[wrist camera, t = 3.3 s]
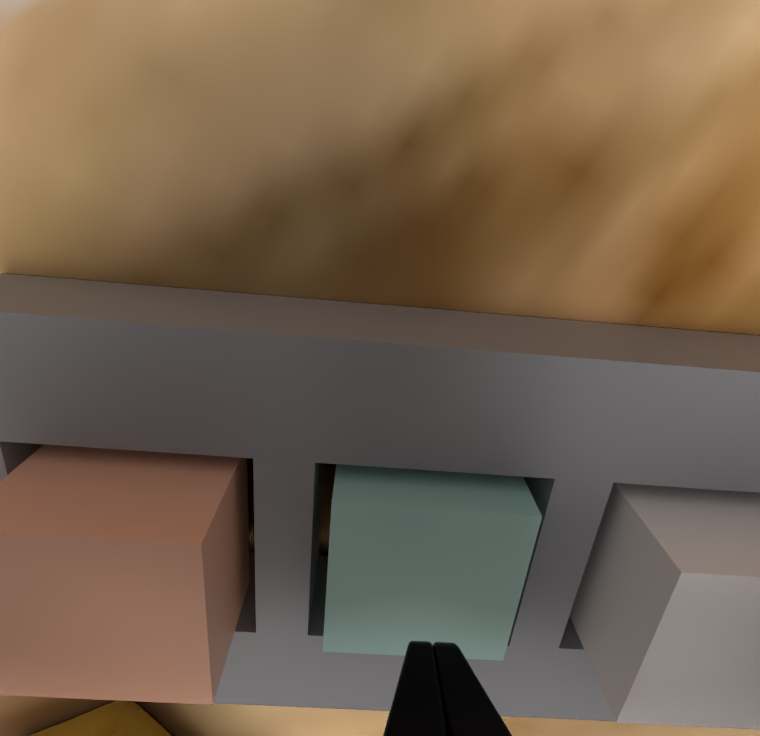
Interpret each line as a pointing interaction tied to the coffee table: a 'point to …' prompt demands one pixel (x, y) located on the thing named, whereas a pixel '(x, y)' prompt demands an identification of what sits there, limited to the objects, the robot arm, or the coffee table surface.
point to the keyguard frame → (381, 443)
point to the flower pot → (109, 723)
